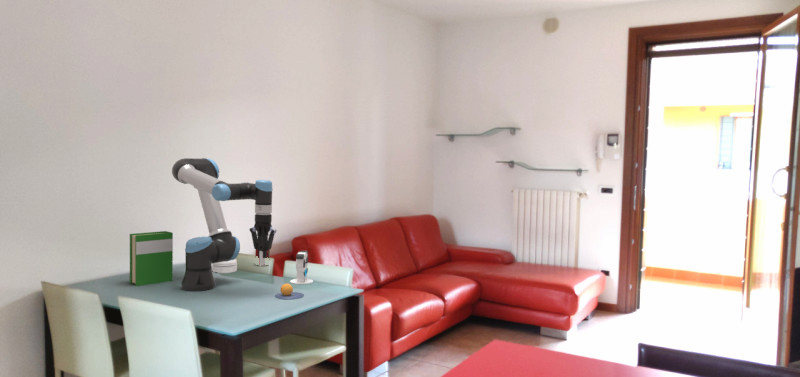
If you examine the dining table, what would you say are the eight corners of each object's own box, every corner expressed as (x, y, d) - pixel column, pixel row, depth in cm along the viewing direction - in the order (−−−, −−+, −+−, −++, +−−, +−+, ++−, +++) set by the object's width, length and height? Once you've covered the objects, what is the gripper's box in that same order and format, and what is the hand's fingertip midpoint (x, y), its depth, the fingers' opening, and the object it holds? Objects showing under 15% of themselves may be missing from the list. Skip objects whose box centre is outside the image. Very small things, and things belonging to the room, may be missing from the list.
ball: (282, 299, 260) (276, 289, 261) (288, 296, 265) (282, 286, 266) (291, 292, 259) (284, 282, 259) (297, 290, 264) (290, 280, 265)
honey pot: (241, 271, 314) (241, 238, 313) (219, 274, 304) (220, 240, 303) (229, 267, 322) (229, 235, 321) (207, 270, 313) (207, 237, 312)
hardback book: (136, 286, 273) (136, 235, 271) (129, 283, 278) (129, 233, 276) (172, 280, 286) (172, 232, 284) (165, 278, 291) (165, 231, 289)
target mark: (269, 297, 258) (269, 297, 258) (283, 291, 270) (283, 290, 270) (295, 300, 254) (295, 300, 254) (308, 294, 266) (308, 293, 266)
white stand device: (310, 284, 285) (310, 254, 284) (287, 284, 286) (288, 253, 285) (314, 279, 297) (315, 250, 296) (292, 278, 298) (293, 249, 297)
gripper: (246, 213, 263) (245, 264, 264) (271, 215, 259) (270, 267, 260) (255, 212, 270) (254, 262, 271) (280, 214, 266) (278, 264, 268)
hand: (262, 264), depth 266 cm, fingers closed
